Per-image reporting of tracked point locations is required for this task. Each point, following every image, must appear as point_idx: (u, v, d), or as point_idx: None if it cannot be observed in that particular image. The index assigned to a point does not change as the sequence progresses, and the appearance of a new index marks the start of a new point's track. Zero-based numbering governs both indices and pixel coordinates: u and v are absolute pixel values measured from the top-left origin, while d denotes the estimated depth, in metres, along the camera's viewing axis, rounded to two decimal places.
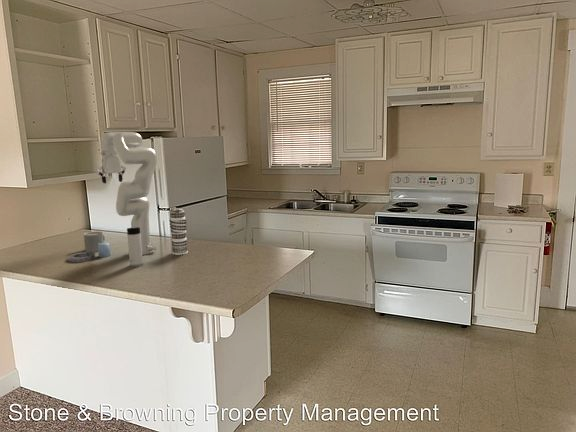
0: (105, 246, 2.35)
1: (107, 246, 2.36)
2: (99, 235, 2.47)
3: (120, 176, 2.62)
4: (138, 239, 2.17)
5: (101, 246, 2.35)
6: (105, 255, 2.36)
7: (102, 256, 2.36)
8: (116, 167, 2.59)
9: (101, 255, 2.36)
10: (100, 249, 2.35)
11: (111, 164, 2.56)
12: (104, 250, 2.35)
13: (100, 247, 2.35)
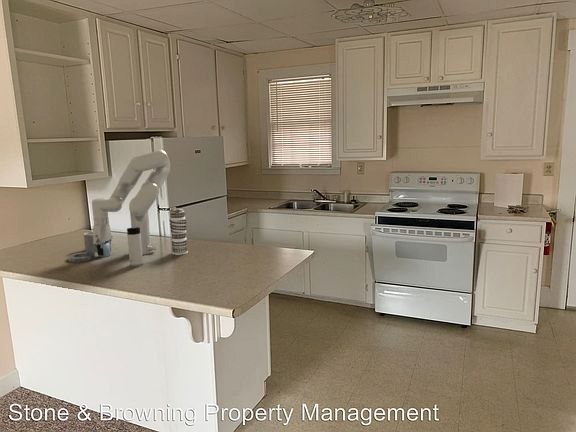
0: (105, 246, 2.35)
1: (107, 246, 2.36)
2: None
3: None
4: (138, 239, 2.17)
5: None
6: (105, 255, 2.36)
7: (102, 256, 2.36)
8: None
9: (101, 255, 2.36)
10: None
11: None
12: (104, 250, 2.35)
13: None
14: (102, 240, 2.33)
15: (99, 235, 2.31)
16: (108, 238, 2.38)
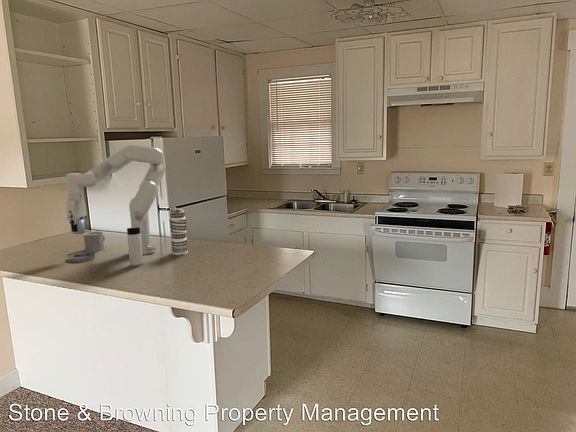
0: (79, 222, 2.28)
1: (81, 222, 2.29)
2: (99, 235, 2.47)
3: None
4: (138, 239, 2.17)
5: None
6: (79, 232, 2.28)
7: (76, 233, 2.28)
8: None
9: (75, 232, 2.28)
10: None
11: None
12: (78, 226, 2.28)
13: None
14: (76, 216, 2.25)
15: (73, 210, 2.24)
16: (83, 214, 2.31)
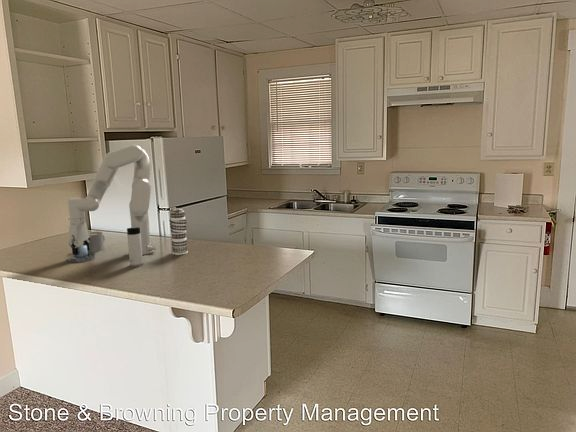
0: (82, 249, 2.30)
1: (84, 249, 2.31)
2: (99, 235, 2.47)
3: None
4: (138, 239, 2.17)
5: (78, 249, 2.30)
6: None
7: None
8: None
9: None
10: None
11: None
12: (81, 253, 2.30)
13: None
14: (78, 240, 2.28)
15: (75, 235, 2.26)
16: (85, 238, 2.33)
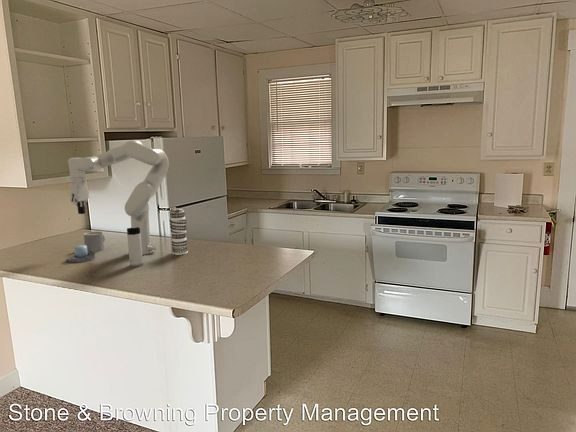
0: (82, 249, 2.30)
1: (84, 249, 2.31)
2: (99, 235, 2.47)
3: None
4: (138, 239, 2.17)
5: (78, 249, 2.30)
6: None
7: None
8: None
9: None
10: (77, 252, 2.30)
11: None
12: (81, 253, 2.30)
13: (77, 250, 2.30)
14: (79, 199, 2.33)
15: (76, 193, 2.32)
16: (85, 198, 2.38)
